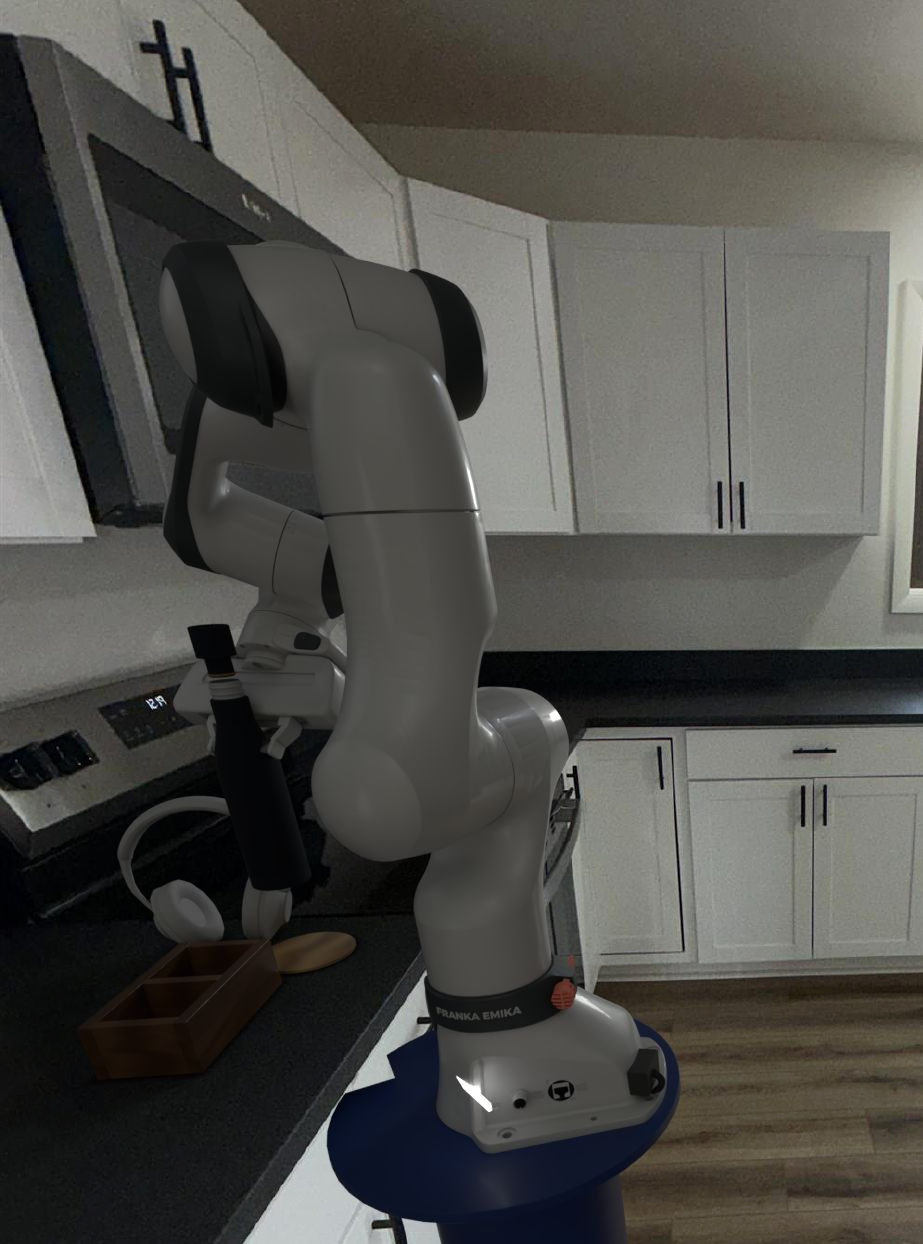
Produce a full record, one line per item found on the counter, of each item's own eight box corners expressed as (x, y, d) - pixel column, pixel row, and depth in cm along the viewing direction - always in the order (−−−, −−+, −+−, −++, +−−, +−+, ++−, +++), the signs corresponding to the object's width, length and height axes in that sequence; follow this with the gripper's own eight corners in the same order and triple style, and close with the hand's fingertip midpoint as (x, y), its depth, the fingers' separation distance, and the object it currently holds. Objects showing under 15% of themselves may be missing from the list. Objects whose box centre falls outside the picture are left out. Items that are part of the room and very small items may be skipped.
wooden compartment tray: (282, 982, 103) (269, 938, 101) (203, 1073, 86) (185, 1022, 84) (195, 987, 102) (180, 942, 99) (97, 1080, 85) (76, 1029, 83)
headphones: (137, 970, 106) (81, 816, 98) (163, 939, 114) (112, 794, 106) (305, 949, 111) (265, 801, 103) (318, 920, 119) (282, 781, 111)
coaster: (368, 932, 116) (367, 929, 115) (337, 971, 106) (337, 968, 105) (282, 936, 114) (281, 934, 114) (243, 976, 104) (242, 973, 104)
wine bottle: (254, 895, 101) (172, 630, 88) (250, 878, 106) (172, 625, 93) (314, 883, 104) (244, 625, 91) (308, 867, 109) (240, 620, 96)
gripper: (182, 636, 101) (140, 737, 96) (342, 639, 98) (306, 744, 93) (222, 668, 107) (183, 766, 102) (373, 672, 104) (341, 772, 99)
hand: (243, 755), depth 98 cm, fingers closed on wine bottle, 5 cm apart
